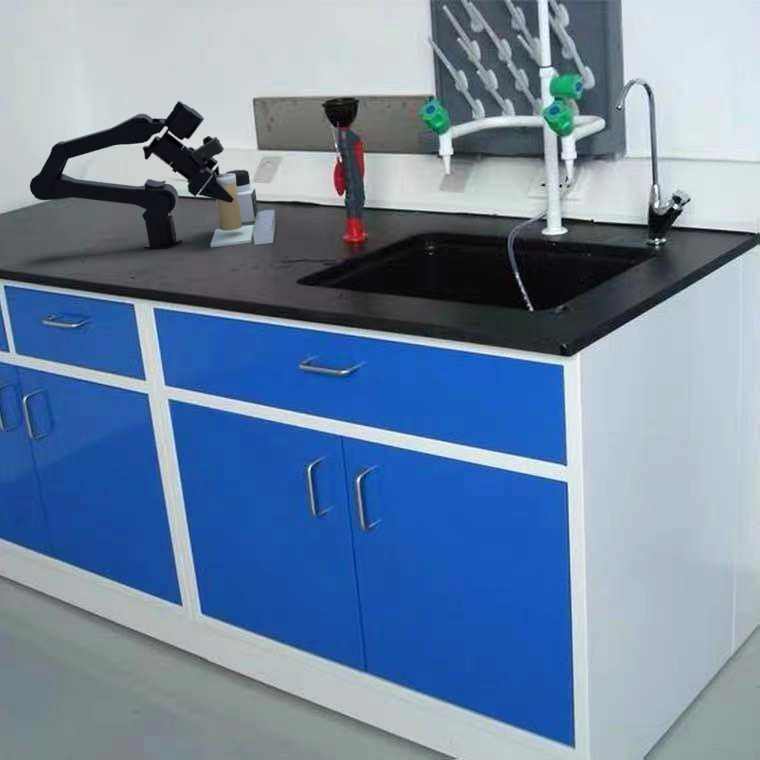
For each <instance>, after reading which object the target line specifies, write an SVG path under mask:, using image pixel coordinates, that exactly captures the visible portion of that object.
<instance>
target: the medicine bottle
mask: <svg viewBox="0 0 760 760" xmlns="http://www.w3.org/2000/svg"><path fill="white" fill-rule="evenodd" d="M225 173H234V174H235V176H236V186H237V193H238V200H239V207H240V214H241V220H242V224H244V223H245V224H246V223H247V224H248V223H253V222H254V223H255V220H256V215H257V212H259V208H258V207H259V206H258V201H257V194H256V193H257V192H256V188H255V186H251V181H250V174H249V173H250V172H249V171H248V170H245V169H233V170H228V171H226V172H225Z"/></svg>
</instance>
